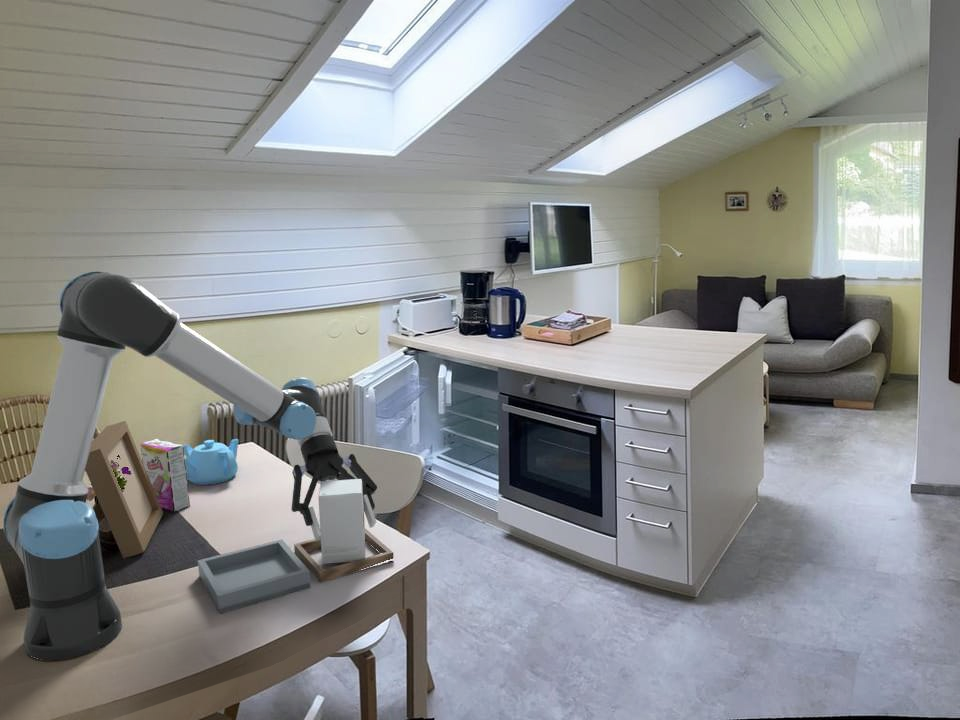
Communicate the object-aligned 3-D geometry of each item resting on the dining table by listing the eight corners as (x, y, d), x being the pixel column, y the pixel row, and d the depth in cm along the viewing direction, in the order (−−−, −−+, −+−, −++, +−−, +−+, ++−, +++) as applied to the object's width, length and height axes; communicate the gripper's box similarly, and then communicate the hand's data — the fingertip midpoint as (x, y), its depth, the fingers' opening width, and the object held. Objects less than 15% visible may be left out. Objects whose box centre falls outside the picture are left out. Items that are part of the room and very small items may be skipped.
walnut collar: (320, 582, 150) (319, 573, 150) (294, 552, 164) (294, 544, 163) (393, 561, 158) (393, 552, 158) (363, 534, 172) (362, 526, 171)
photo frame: (163, 516, 185) (150, 418, 180) (144, 556, 164) (128, 446, 159) (98, 524, 182) (83, 424, 177) (70, 565, 161) (52, 453, 156)
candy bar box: (146, 504, 193) (138, 443, 190) (163, 498, 197) (156, 437, 194) (173, 513, 187) (166, 449, 184) (191, 506, 191) (184, 444, 188)
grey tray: (219, 613, 140) (217, 596, 139) (199, 576, 154) (197, 560, 153) (310, 587, 148) (309, 570, 148) (283, 554, 163) (282, 539, 162)
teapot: (179, 490, 202) (175, 452, 200) (185, 472, 217) (181, 436, 214) (239, 484, 206) (235, 446, 204) (241, 466, 220) (237, 430, 218)
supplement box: (365, 561, 156) (362, 493, 153) (321, 565, 155) (317, 496, 152) (366, 542, 165) (362, 477, 162) (324, 545, 164) (320, 480, 161)
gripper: (362, 441, 176) (393, 525, 166) (260, 460, 164) (287, 552, 154) (370, 424, 171) (403, 510, 161) (265, 442, 158) (294, 537, 149)
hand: (346, 531), depth 157 cm, fingers closed on supplement box, 11 cm apart
